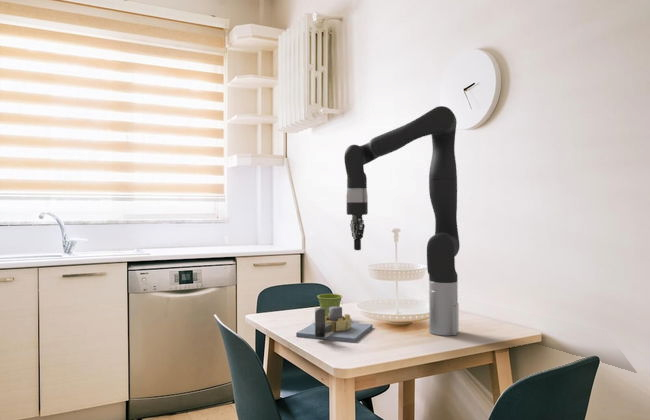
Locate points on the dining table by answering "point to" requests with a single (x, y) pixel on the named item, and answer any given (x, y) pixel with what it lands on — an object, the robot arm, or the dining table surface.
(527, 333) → the dining table surface
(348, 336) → the hub board
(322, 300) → the plant pot
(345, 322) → the ring with upright handle
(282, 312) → the dining table surface
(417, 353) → the dining table surface
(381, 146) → the robot arm
